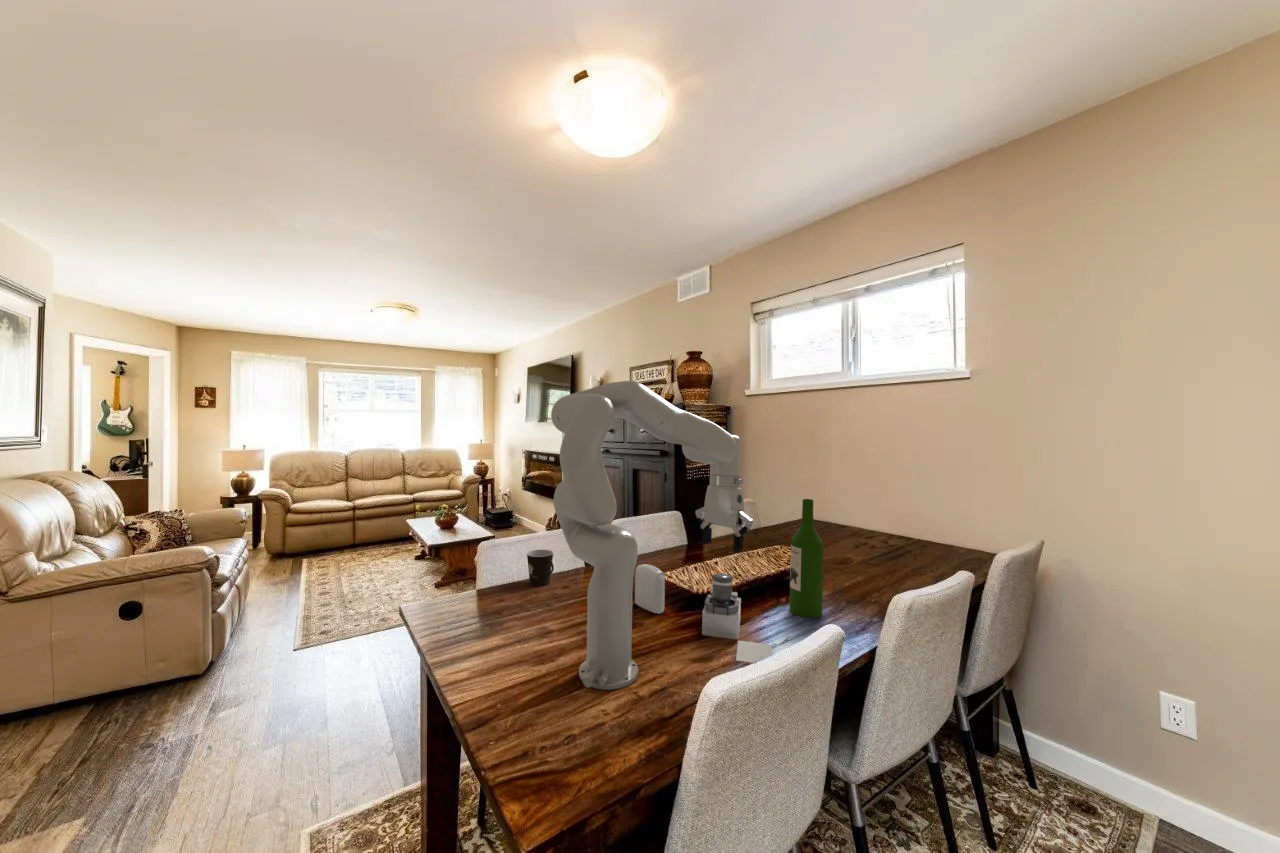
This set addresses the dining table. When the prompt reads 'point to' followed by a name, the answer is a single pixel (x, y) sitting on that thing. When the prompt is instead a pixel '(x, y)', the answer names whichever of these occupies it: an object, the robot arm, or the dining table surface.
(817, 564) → the wine bottle
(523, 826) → the dining table surface
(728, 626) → the octagonal socket block
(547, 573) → the coffee mug
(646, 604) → the photo printer
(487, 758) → the dining table surface
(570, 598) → the dining table surface
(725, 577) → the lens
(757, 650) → the mat
